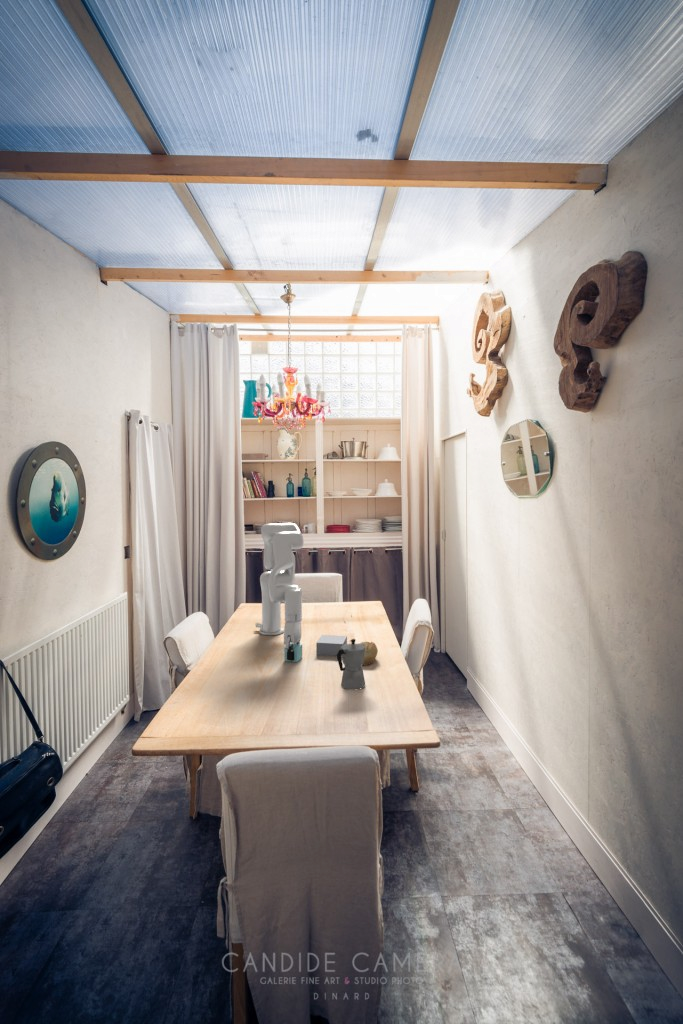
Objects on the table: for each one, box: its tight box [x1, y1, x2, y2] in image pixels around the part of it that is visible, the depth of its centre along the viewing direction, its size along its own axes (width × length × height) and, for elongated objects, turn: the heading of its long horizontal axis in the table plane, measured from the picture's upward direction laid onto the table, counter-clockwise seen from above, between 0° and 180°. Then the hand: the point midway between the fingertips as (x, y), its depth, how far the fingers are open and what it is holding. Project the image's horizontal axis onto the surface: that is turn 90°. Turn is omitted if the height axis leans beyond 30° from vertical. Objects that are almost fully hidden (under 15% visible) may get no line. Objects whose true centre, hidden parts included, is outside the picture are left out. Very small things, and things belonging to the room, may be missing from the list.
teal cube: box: [283, 643, 303, 663], centre depth 233 cm, size 6×6×6 cm
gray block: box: [315, 634, 348, 657], centre depth 243 cm, size 12×12×6 cm
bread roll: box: [360, 641, 379, 666], centre depth 232 cm, size 10×15×8 cm, turn 176°
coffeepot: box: [336, 638, 366, 691], centre depth 202 cm, size 15×9×18 cm, turn 137°
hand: (293, 657), depth 233 cm, fingers closed on teal cube, 6 cm apart
